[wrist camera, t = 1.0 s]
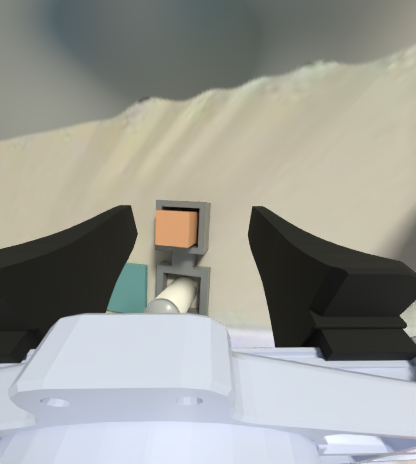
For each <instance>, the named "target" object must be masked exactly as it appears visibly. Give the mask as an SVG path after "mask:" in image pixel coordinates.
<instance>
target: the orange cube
mask: <svg viewBox="0 0 416 464" xmlns="http://www.w3.org/2000/svg"><path fill="white" fill-rule="evenodd" d="M198 213H199V212H189V211H171V210H156V231H155V245H164V246H175V247H185V248H189V247H190V246H192V245H193V244H195V243H197V235H198Z"/></svg>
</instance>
